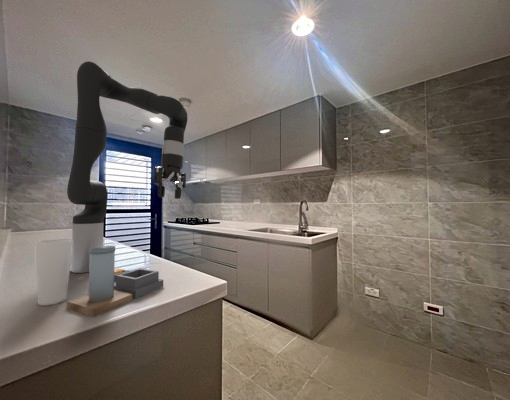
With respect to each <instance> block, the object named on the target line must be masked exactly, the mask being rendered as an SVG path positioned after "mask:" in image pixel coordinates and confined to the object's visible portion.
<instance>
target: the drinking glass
mask: <svg viewBox="0 0 510 400" xmlns="http://www.w3.org/2000/svg"><path fill="white" fill-rule="evenodd" d="M71 258H72V238H71V239H70V238H56V239H45V240H40V241H36V242H35V248H34V264H35V265H34V268H35V275H36V277H35V278H36V290H37V291H36V292H37V305H39V306H43V307H44V306H45V307H46V306H52V305H57V304H60V303H62V302H64V301H65V300H66V299H67V298H68V287H69V279H70V274H71V273H70V272H71Z"/></svg>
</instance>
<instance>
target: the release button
mask: <svg viewBox="0 0 510 400" xmlns="http://www.w3.org/2000/svg"><path fill="white" fill-rule="evenodd" d="M119 273H122V269H121V268H114V275H115V274H119Z"/></svg>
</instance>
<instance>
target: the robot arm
mask: <svg viewBox="0 0 510 400" xmlns="http://www.w3.org/2000/svg"><path fill="white" fill-rule="evenodd" d="M76 86H77V88H76V91H77V105H76V108H77V109H76V123H75V129H74V130H75V131H74V148H73V156H72V163H71V167H70V168H71V169H70V174H69V178H68V183H67V189H66V195H67V198H68V200H69V201H70V203H72V204H74V205H79V206H84V209H83V210H81V212H79V213H77V214H74V215H73V217H72V227H71V228H72V231H71V232H72V233H71V236H72V237H71V240H72V258H71V266H70V272H71V273H73V274H75V273H76V274H81V273H84V274H85V273H89V264H90V254H89V249H90V248H93V247H99V246H104V226H105V225H104V220H105V217H106V214H107V207H108V189H107V186H106V184H105V183H103V182H102V181H99V180H91V173H92V169H93V166H94V164H95V162H96V161H97V160H98V159H99V157H100V156H101V155H102V153H103V152H104V150H105V148H106V145H107V132H108V131H107V126H106V122H105V119H104V115H103V113H102V110H101V103H100V97H101V98H104V99H110V100H115V101H118V102H122V103H124V104H125V103H126V104H129V105H132V106H134V107H137V108H138V109H139V108H140V109H141V110H143V111H145V112H149V113H151V114H155V115H159V114H162V115H164V116H166V117H167V118H168V119H169V121H168V122H169V123H168V125H167V126H165V128H164V132H163V144H162V150H161V160H160V161H161V164H160V166H155V167H154V173H153V181H152V182H153V184H154V185H157V196H158V198H164V197H165V194H166V193H165V192H166V187H165V186H166V185H167V184H168V183H169V182H170V183H172V184H173V186H174V188H175V190H174V199H176V200H177V199H178V200H180V199H181V196H182V190H183V189H186V184H187V183H186V182H187V181H186V180H187V174H186V173H185V172H181V169H183V167H184V166H183V165H184V164H183V163H184V140H185V139H184V138H185V131H186V128H187V125H188V112H187V110H186V108H185V107H184V106H183V104H182V103H181V102H180V100H178V99H176V98H174V97H172V96H167V95H159V94H158V93H155V92H152V91H149V90H147V89H144V88H142V87H141V88H140V87H132V86H127V85H124V84H123V83H120V82H119V81H117V80H116V79H114V78H112V76H111V75H110V74H109V73H107V71H105V70H104V69H103V68H102V67H101V66H99V65H98V64H97V63H95V62H94V61H84V62H82V63H81V64H80V66H79V67H78V69H77V73H76Z"/></svg>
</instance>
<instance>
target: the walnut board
mask: <svg viewBox="0 0 510 400" xmlns="http://www.w3.org/2000/svg"><path fill="white" fill-rule="evenodd" d="M131 301H133V298H132V294H130V293H126V292H121V291H117V290H114V296H113V297H112V298H110V299H108V300H104V301H100V302H90V301H89V293H88V294H85V295H82V296H79V297H76V298H74V299H70V300H67V301H66V309H68V310H72V311H75V312H78V313H81V314H84V315H87V316H91V317H92V318H95V317H96V316H99V315H101V314H104V313H106V312H108V311H110V310H112V309H115V308H117V307H120V306H122V305H124V304H126V303H129V302H131Z"/></svg>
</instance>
